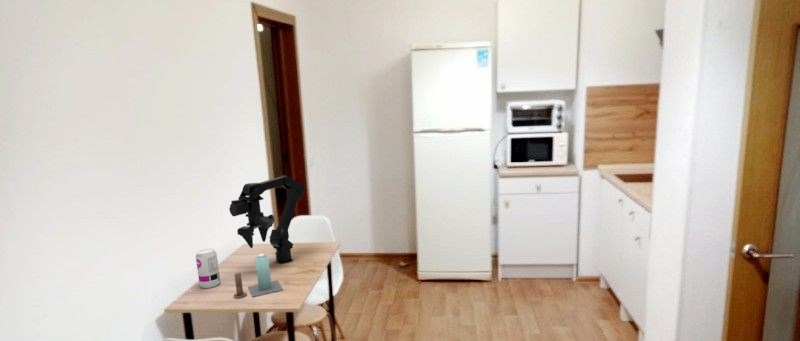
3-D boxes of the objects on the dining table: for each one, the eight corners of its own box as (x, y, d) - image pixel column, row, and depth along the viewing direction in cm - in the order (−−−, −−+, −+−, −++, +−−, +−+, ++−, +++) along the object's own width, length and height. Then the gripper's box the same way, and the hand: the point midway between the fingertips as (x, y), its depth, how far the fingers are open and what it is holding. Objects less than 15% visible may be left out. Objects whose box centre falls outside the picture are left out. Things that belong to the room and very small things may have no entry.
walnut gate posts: (263, 278, 199) (261, 258, 198) (273, 278, 198) (270, 258, 197) (230, 298, 180) (228, 276, 179) (241, 299, 178) (238, 277, 177)
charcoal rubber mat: (277, 280, 195) (277, 280, 195) (283, 290, 184) (283, 289, 184) (248, 287, 190) (248, 286, 190) (252, 297, 179) (252, 296, 179)
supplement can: (200, 290, 190) (195, 255, 188) (199, 284, 198) (194, 250, 195) (221, 285, 194) (217, 251, 192) (219, 279, 201) (214, 247, 199)
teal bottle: (269, 284, 190) (265, 251, 188) (273, 287, 186) (269, 254, 184) (257, 287, 188) (253, 254, 185) (261, 291, 183) (257, 257, 181)
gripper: (255, 216, 195) (260, 251, 197) (281, 206, 212) (284, 239, 215) (234, 216, 199) (238, 250, 201) (260, 206, 216) (264, 238, 218)
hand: (257, 244), depth 209 cm, fingers open, 9 cm apart
